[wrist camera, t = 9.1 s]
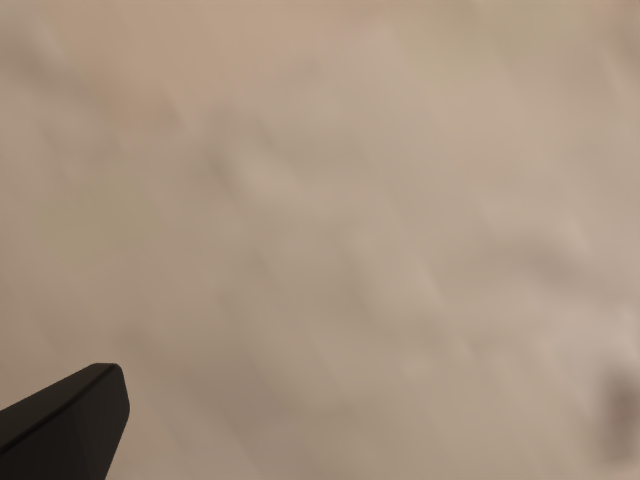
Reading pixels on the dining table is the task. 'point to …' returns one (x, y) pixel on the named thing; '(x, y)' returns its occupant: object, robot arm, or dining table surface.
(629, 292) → the dining table surface
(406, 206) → the dining table surface
